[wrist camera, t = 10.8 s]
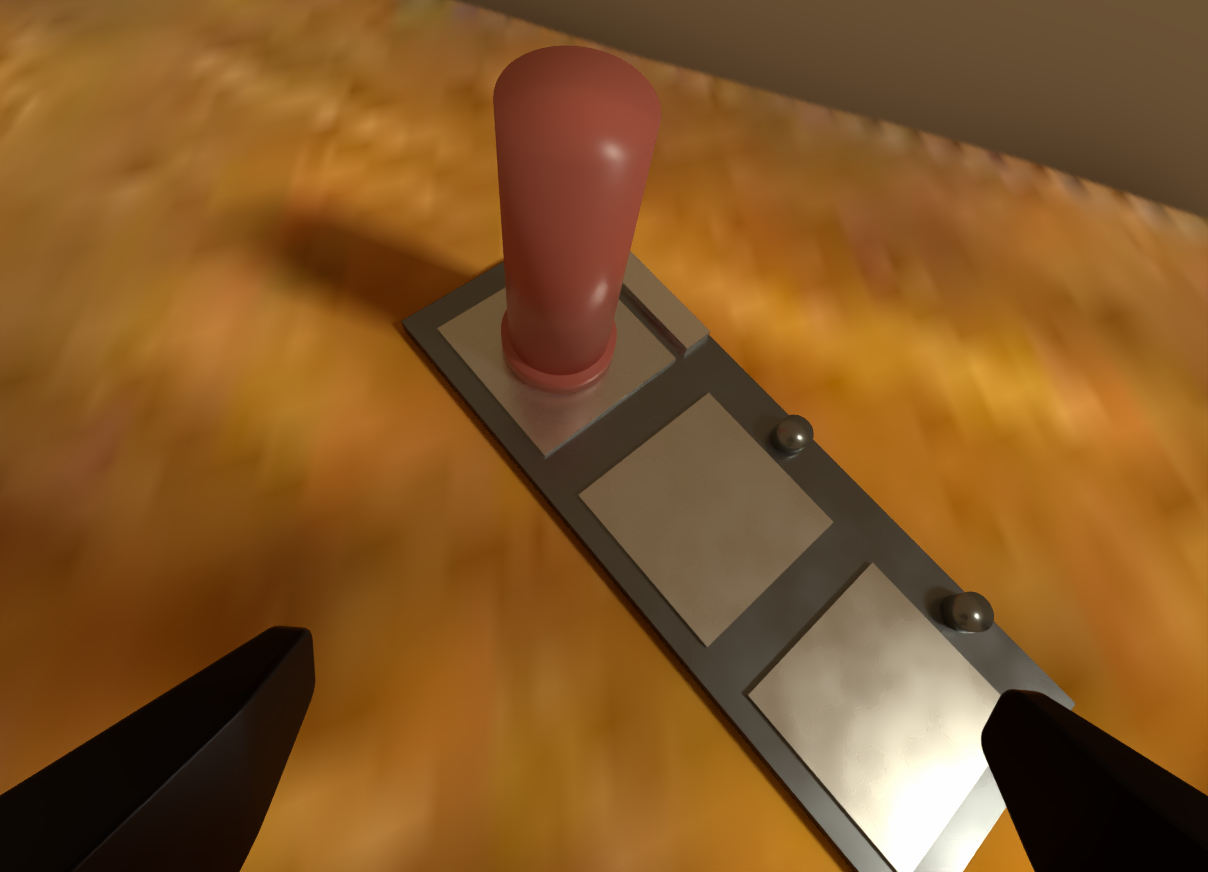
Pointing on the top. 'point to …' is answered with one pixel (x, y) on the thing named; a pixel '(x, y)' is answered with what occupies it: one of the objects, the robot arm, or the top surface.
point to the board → (760, 572)
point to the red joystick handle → (568, 206)
